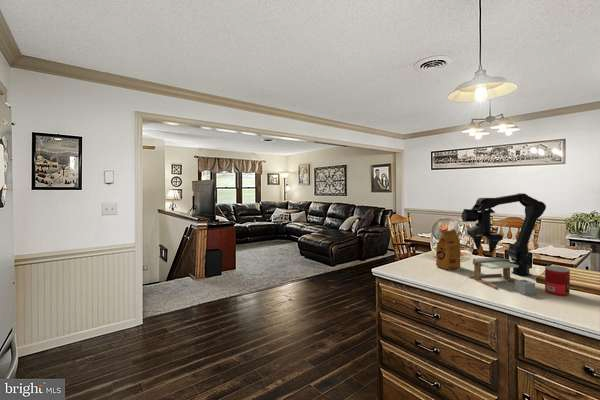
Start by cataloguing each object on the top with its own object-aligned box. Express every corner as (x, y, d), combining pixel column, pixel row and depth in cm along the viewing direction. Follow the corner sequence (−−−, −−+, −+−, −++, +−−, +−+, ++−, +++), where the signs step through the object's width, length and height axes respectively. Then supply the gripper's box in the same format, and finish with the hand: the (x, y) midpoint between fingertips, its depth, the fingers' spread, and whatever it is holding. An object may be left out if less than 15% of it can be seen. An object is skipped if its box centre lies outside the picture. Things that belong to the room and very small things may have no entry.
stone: (524, 290, 129) (524, 279, 129) (535, 294, 124) (535, 283, 124) (514, 291, 129) (514, 280, 129) (524, 295, 124) (524, 284, 124)
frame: (468, 277, 149) (468, 259, 148) (501, 275, 151) (501, 257, 150) (494, 289, 132) (494, 268, 132) (530, 286, 134) (530, 265, 134)
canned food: (571, 297, 120) (572, 271, 120) (546, 294, 124) (546, 268, 124) (567, 291, 127) (567, 266, 126) (543, 288, 131) (543, 264, 130)
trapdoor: (472, 264, 148) (472, 258, 148) (497, 262, 150) (497, 257, 150) (491, 271, 136) (491, 265, 136) (518, 269, 137) (518, 263, 137)
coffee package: (433, 266, 171) (432, 229, 171) (449, 263, 176) (448, 227, 175) (447, 270, 162) (446, 231, 161) (463, 267, 166) (463, 229, 166)
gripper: (458, 220, 161) (458, 248, 162) (483, 224, 143) (483, 255, 144) (476, 219, 163) (476, 247, 163) (503, 223, 144) (503, 254, 145)
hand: (484, 250), depth 154 cm, fingers open, 9 cm apart
